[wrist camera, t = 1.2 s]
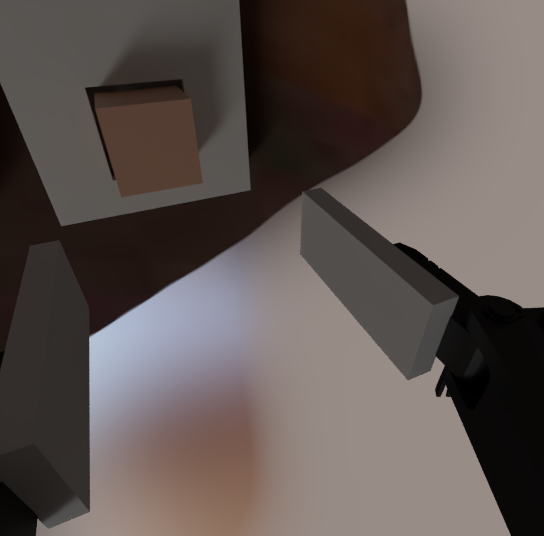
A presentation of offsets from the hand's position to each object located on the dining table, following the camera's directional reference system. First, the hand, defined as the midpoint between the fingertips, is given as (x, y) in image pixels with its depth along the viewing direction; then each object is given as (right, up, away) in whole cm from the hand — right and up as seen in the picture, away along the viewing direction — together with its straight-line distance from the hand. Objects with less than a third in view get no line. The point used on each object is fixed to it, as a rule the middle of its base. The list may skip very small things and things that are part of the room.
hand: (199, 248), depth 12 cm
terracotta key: (-6, +9, +12) cm, 16 cm away
